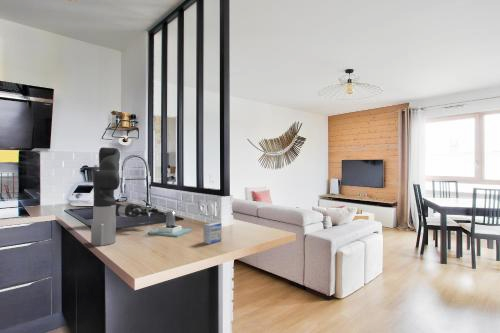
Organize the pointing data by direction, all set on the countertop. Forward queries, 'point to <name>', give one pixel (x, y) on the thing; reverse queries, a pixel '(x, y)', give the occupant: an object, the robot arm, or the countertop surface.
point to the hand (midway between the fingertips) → (152, 212)
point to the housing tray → (170, 231)
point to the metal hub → (170, 219)
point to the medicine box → (212, 233)
